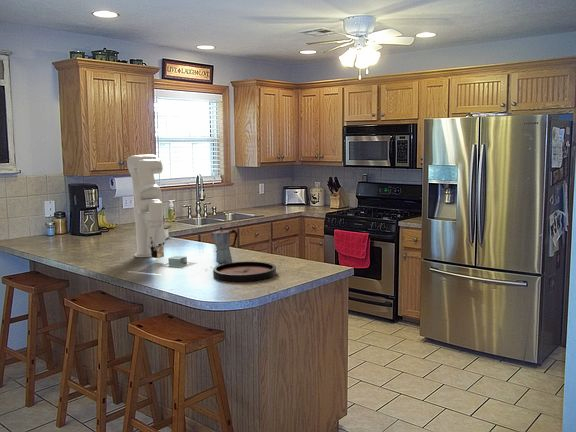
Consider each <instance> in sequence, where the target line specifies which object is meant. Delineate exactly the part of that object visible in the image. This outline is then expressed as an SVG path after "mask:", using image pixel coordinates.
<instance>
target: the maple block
mask: <svg viewBox="0 0 576 432" xmlns="http://www.w3.org/2000/svg"><path fill="white" fill-rule="evenodd" d="M153 247H154V246H153ZM164 247H165V245H164V246H159V245H156V250H157V257H156V258H155V257H152V255H151V257H150V258H151V259H161V258H163V257H165V250H164V249H165V248H164Z"/></svg>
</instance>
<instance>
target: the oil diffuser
mask: <svg viewBox="0 0 576 432" xmlns="http://www.w3.org/2000/svg"><path fill="white" fill-rule="evenodd" d="M164 223H165V222H164V221H163V226H164V232H165V240H166V239H168V238H169V229H170V228H171V227H172V225H164Z"/></svg>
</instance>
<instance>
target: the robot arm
mask: <svg viewBox="0 0 576 432" xmlns="http://www.w3.org/2000/svg"><path fill="white" fill-rule="evenodd" d="M126 164H127V165H126V166H127V169H128V172H129V174H130V176H131V179H132V181H131V182H132V190H133V196H134V203H135V204H134V205H133V207H132V211H133V216H134V221H135V222H134V225H135V237H136V238H135V239H136V252H135V253H134V257H136V258H151V255H152V257H155V258H154V259H157V258H156V257H157V250H156V245H159V246H164V247H165V244H166V241H167V240H166V239H165V232H164V226H165V225H164V226H163V222H164V203H163V196H162V195H163V193H162V189H161V187H160V186H159V185H158V184H156V180H155V176H154V175H155V174H158V175H159V174H161V173H162V172H163V169H164V167H163V162H162V161H161V159H160V158H159V157H158V156H157V155H156V154H138V155H137V154H135V155H130V156H128V157H127V158H126ZM153 246H154V247H153Z"/></svg>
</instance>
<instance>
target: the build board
mask: <svg viewBox="0 0 576 432" xmlns="http://www.w3.org/2000/svg"><path fill="white" fill-rule="evenodd" d="M196 264H198V262H191V261H187V264H185V265H182V266H169V262H167V263H164V264H161V265H158V266H157V267H160V268H170V269H171V268H172V269H185V268H188V267H190V266H193V265H196Z"/></svg>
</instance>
